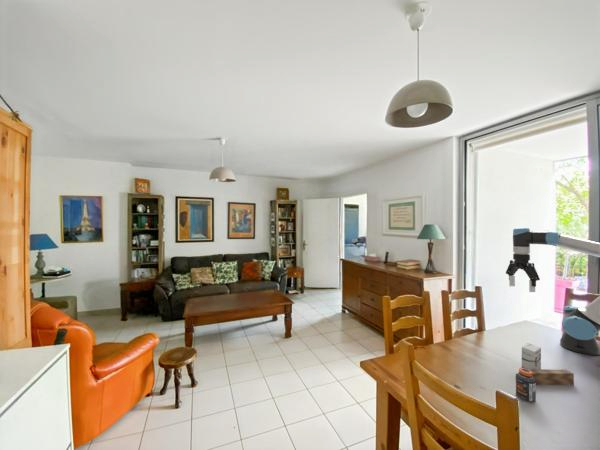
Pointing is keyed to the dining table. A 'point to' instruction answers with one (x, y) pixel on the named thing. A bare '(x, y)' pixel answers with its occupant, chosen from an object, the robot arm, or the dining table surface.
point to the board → (552, 377)
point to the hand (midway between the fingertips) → (521, 288)
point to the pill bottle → (525, 385)
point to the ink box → (531, 356)
